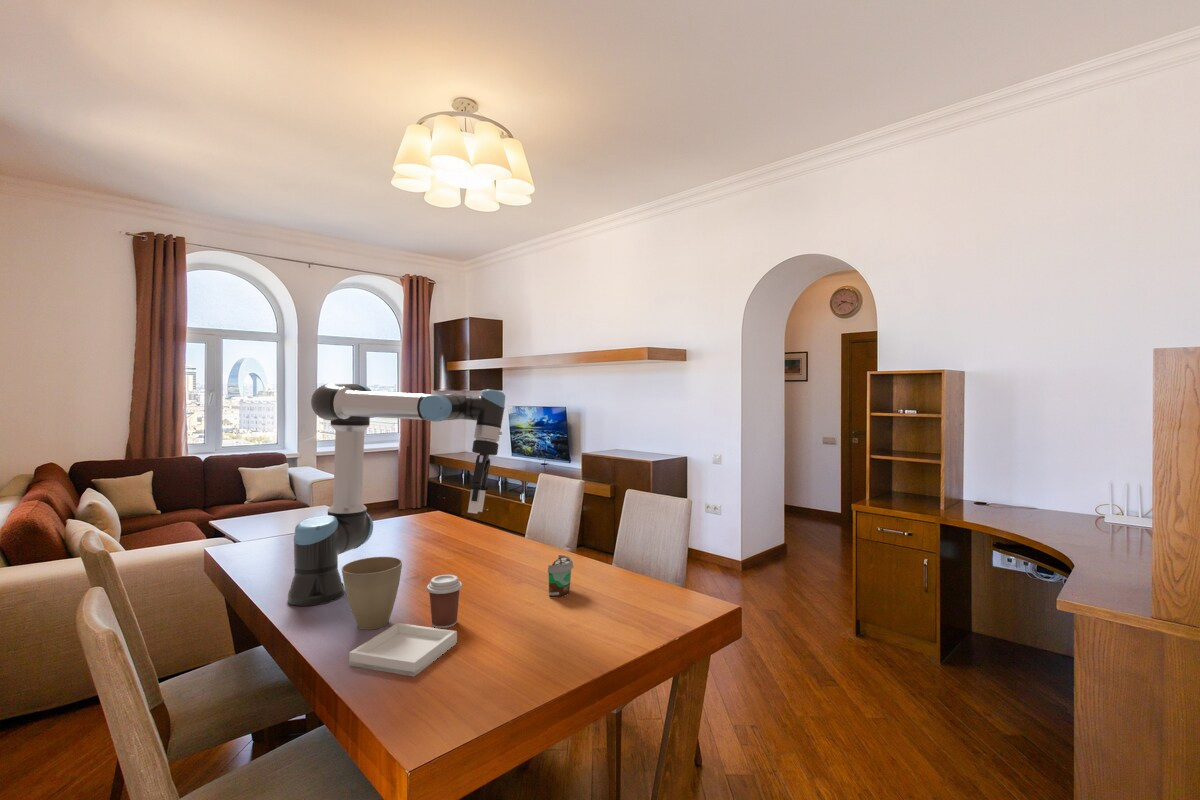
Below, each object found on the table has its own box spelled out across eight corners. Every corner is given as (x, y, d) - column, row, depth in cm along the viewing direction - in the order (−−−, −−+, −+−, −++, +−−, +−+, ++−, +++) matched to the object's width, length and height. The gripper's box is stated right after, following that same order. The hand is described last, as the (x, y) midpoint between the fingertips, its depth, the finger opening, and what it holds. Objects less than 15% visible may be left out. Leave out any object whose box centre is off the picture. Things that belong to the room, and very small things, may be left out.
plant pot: (358, 613, 155) (358, 556, 155) (410, 613, 154) (410, 556, 154) (330, 636, 140) (330, 573, 140) (388, 637, 139) (388, 573, 139)
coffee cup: (462, 628, 145) (462, 582, 145) (426, 632, 142) (426, 585, 142) (461, 615, 153) (461, 572, 153) (426, 619, 151) (426, 575, 151)
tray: (349, 665, 124) (349, 652, 124) (397, 634, 141) (397, 622, 141) (414, 676, 120) (414, 662, 120) (456, 643, 136) (456, 631, 136)
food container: (567, 600, 164) (567, 567, 164) (547, 599, 165) (547, 565, 165) (577, 587, 176) (577, 555, 176) (559, 585, 178) (559, 554, 178)
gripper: (495, 438, 155) (483, 515, 152) (501, 446, 180) (491, 512, 176) (468, 435, 155) (456, 512, 151) (478, 443, 179) (467, 509, 175)
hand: (475, 512), depth 163 cm, fingers open, 13 cm apart
